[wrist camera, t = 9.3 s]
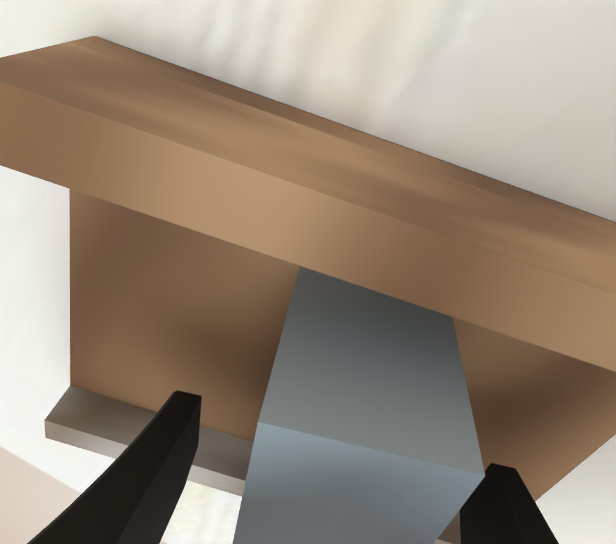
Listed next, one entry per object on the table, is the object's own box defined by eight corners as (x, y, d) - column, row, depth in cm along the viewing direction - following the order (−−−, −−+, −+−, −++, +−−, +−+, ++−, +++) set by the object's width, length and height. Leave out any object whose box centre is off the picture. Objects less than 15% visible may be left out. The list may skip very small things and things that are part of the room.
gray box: (448, 299, 12) (485, 475, 8) (383, 435, 15) (385, 608, 11) (300, 264, 12) (258, 422, 8) (268, 408, 15) (226, 570, 11)
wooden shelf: (752, 271, 11) (904, 394, 8) (485, 513, 19) (507, 630, 15) (94, 35, 10) (-41, 67, 7) (85, 390, 18) (17, 486, 14)
